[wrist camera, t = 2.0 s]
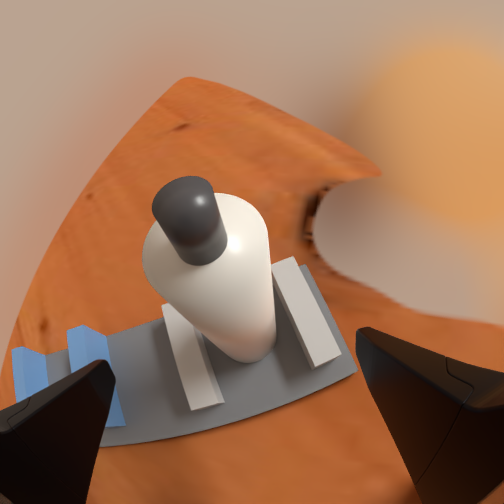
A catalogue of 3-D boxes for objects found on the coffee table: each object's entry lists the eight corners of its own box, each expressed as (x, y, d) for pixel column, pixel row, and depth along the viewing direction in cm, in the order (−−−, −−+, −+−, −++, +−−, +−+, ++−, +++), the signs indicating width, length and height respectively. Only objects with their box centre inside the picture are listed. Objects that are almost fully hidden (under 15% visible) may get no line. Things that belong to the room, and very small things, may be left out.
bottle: (285, 350, 18) (292, 231, 6) (230, 371, 17) (116, 297, 5) (264, 300, 20) (233, 132, 8) (212, 319, 19) (111, 180, 7)
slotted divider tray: (355, 371, 17) (372, 364, 14) (49, 447, 14) (19, 447, 11) (304, 268, 22) (308, 241, 18) (33, 362, 19) (6, 351, 15)
